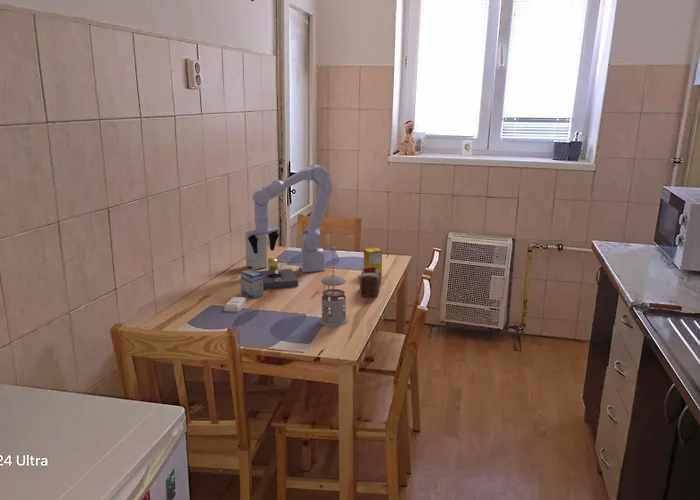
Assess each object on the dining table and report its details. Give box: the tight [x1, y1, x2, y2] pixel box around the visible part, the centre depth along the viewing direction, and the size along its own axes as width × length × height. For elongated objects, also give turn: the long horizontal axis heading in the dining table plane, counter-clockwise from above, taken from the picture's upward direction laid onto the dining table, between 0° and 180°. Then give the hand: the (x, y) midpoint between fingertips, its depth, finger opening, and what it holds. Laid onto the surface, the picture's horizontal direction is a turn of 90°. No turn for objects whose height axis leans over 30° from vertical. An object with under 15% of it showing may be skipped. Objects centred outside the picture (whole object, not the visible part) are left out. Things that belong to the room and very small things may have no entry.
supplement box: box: [363, 246, 383, 277], centre depth 231 cm, size 6×6×11 cm
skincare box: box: [244, 232, 268, 270], centre depth 243 cm, size 8×6×15 cm
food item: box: [359, 266, 382, 299], centre depth 211 cm, size 14×8×10 cm, turn 177°
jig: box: [251, 267, 299, 290], centre depth 223 cm, size 16×16×4 cm
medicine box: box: [240, 269, 264, 299], centre depth 208 cm, size 8×4×9 cm, turn 47°
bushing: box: [267, 257, 279, 271], centre depth 235 cm, size 4×4×6 cm
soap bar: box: [223, 296, 247, 313], centre depth 197 cm, size 5×9×3 cm, turn 173°
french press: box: [318, 246, 350, 327], centre depth 182 cm, size 10×12×25 cm
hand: (263, 251), depth 233 cm, fingers open, 7 cm apart
